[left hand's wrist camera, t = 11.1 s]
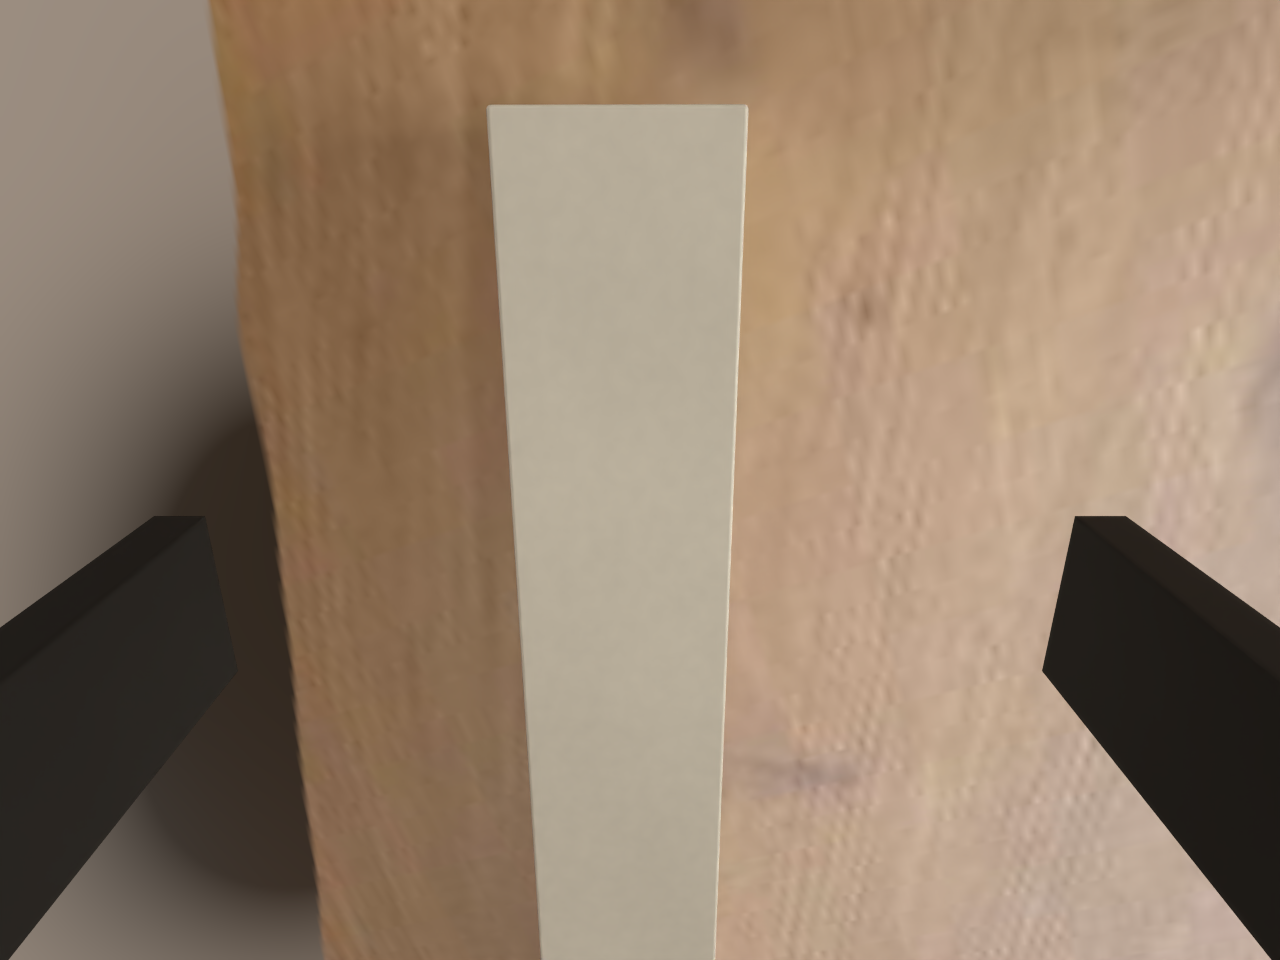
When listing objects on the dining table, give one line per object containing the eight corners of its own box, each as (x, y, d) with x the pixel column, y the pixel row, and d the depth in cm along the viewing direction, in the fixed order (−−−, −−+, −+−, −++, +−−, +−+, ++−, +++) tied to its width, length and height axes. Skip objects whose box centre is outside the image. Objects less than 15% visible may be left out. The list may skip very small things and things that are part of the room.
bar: (525, 126, 25) (485, 104, 17) (709, 126, 25) (749, 104, 17) (579, 1235, 44) (572, 1455, 37) (682, 1231, 44) (696, 1450, 37)
